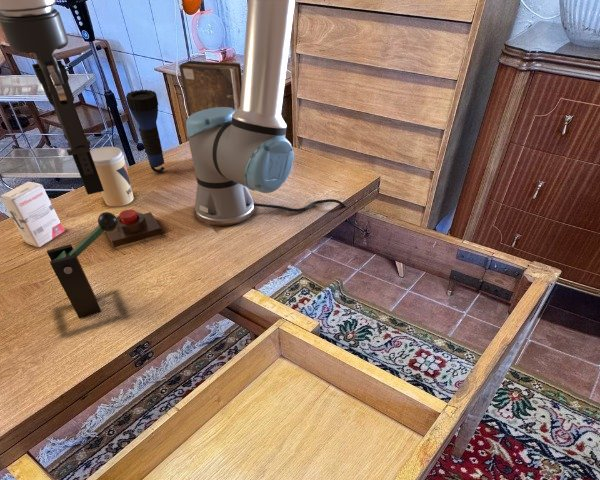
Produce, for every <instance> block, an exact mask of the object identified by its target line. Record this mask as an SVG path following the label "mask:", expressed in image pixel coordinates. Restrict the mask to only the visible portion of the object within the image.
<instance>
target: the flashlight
mask: <svg viewBox="0 0 600 480" xmlns="http://www.w3.org/2000/svg"><path fill="white" fill-rule="evenodd" d="M125 99H126V103H127V106H128V109H129V112H130V113H131V115H132V117H133V118H134V120H135V121H136V123H137V124H138V131H139V136H140V138H141V143H142V145H143V148H144V153H145V154H146V156H147V160H148V165H149V166H150V168H151V170H152V171H153V172H154V173H157V174H159V173H162V172H163V171H164V170H165V167H163V166H162V165H164V164H165V159H164V154H163V148H162V142H161V138H160V133H159V130H158V123H157V121H158V115H159V100H158V95H157V92H156V91H154V90H151V89H139V90H137V89H136V90H133V91H132V90H131V91H130V92H127V93H126V95H125ZM159 167H161V168H159ZM157 168H159V169H157Z"/></svg>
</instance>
